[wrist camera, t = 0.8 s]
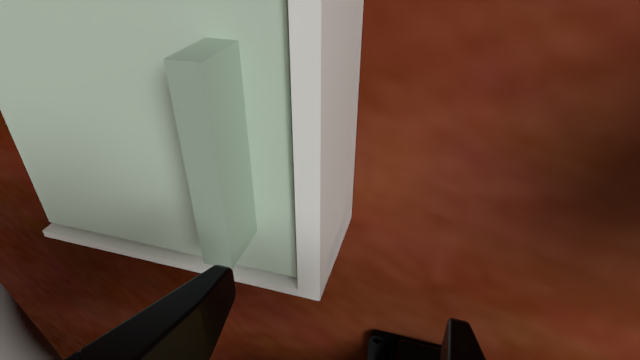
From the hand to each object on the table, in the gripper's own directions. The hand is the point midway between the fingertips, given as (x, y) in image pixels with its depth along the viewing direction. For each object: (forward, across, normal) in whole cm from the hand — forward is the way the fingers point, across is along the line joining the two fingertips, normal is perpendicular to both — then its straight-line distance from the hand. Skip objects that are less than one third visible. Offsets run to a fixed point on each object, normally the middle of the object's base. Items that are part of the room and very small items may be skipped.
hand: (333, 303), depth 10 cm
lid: (+7, +10, 0) cm, 12 cm away
